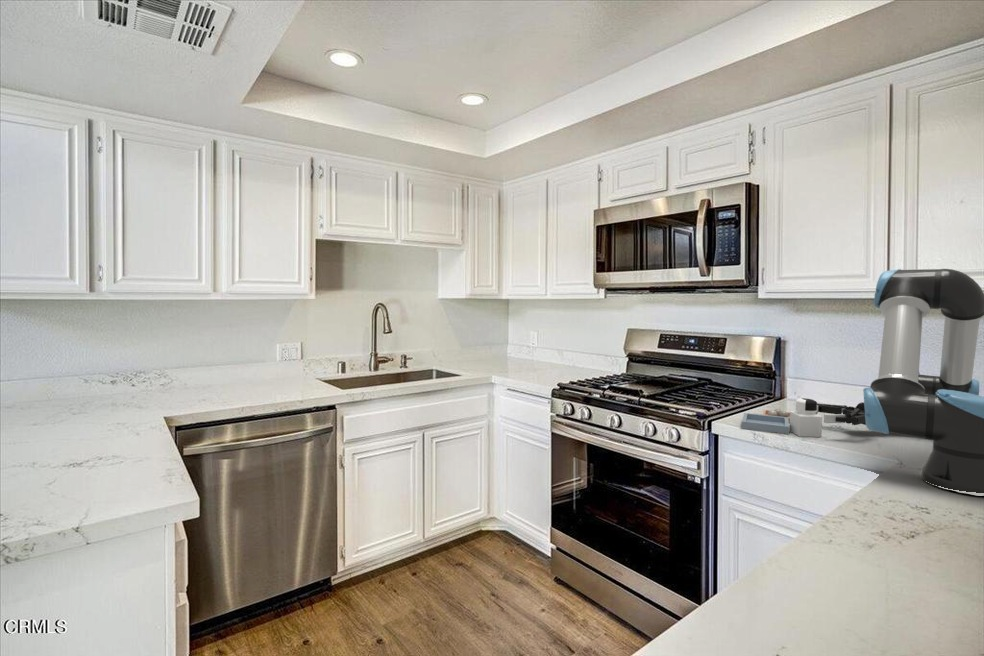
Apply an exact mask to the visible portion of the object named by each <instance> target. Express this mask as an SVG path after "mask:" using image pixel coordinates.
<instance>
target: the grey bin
mask: <svg viewBox="0 0 984 656" xmlns="http://www.w3.org/2000/svg"><path fill="white" fill-rule="evenodd" d="M789 425H790V423H789V420H788V417H779V416H770V415H763V414H759V413H748V412H743V415H742V420H741V429H742V430H750V431H751V430H752V431H758V432H765V431H766V433H773V432H777V433H776V434H782V433H785V434H784V435H789V434H790V431H789Z"/></svg>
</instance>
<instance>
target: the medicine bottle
mask: <svg viewBox="0 0 984 656" xmlns="http://www.w3.org/2000/svg"><path fill="white" fill-rule="evenodd" d="M817 404H818V402H817V400H815V399H811V398H803V397H801V398H797V399H796V400H795V410H790V411H789V412H790V423H789V432H791V433H792V432H793V433H792V434H794V435H796V436H798V437H802V438H803V437H805V438H806V437H807V438H821V437H822V433H823V432H822V431H823V430H822V429H823V416H822V415H820V414H816V412H817Z"/></svg>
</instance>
